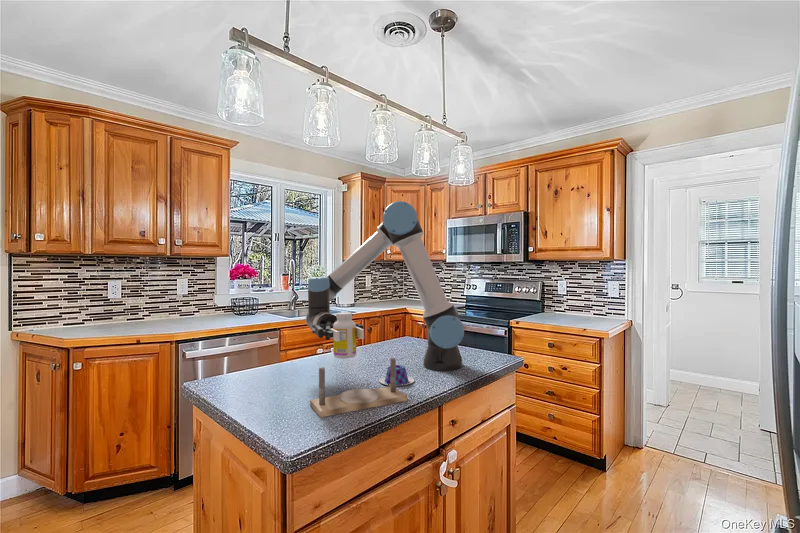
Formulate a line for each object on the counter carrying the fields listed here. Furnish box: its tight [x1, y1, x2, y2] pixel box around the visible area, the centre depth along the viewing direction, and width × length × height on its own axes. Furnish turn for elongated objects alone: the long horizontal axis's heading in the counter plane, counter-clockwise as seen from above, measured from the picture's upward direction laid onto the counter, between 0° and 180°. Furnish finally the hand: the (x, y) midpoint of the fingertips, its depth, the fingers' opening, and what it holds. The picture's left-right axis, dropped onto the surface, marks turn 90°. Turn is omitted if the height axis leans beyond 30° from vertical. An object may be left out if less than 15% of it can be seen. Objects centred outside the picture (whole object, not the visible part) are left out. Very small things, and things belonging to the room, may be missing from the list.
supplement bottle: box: [332, 311, 357, 359], centre depth 117 cm, size 7×7×13 cm
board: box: [309, 357, 408, 418], centre depth 114 cm, size 26×11×12 cm, turn 118°
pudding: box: [378, 364, 415, 387], centre depth 135 cm, size 12×12×5 cm
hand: (350, 335), depth 113 cm, fingers closed on supplement bottle, 7 cm apart
